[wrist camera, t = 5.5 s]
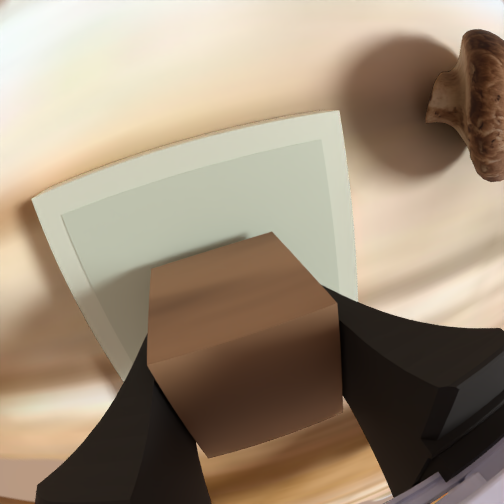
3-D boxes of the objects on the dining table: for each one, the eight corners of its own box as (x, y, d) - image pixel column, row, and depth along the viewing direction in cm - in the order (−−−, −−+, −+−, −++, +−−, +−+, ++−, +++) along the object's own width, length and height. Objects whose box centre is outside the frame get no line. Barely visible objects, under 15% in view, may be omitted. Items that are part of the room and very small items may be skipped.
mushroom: (410, 133, 11) (557, 141, 7) (399, 3, 11) (511, 0, 7) (436, 194, 17) (530, 202, 13) (433, 86, 17) (515, 88, 13)
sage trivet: (343, 327, 18) (358, 346, 16) (145, 390, 16) (146, 415, 15) (319, 110, 13) (339, 110, 11) (47, 188, 11) (30, 199, 10)
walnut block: (291, 327, 14) (342, 412, 9) (190, 359, 13) (208, 458, 9) (271, 231, 12) (337, 302, 7) (151, 268, 11) (147, 365, 7)
